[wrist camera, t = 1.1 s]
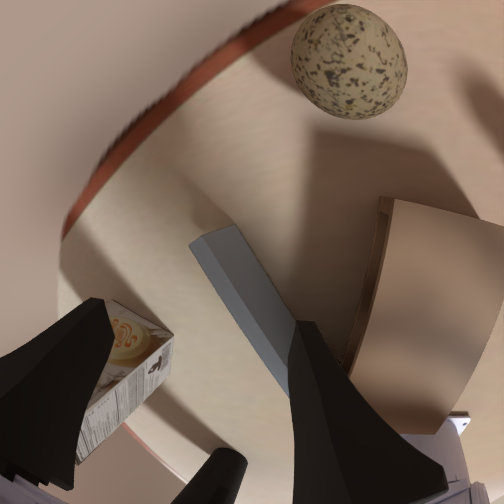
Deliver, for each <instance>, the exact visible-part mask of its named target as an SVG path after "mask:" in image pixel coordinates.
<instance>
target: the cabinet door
mask: <svg viewBox="0 0 504 504" xmlns="http://www.w3.org/2000/svg"><path fill="white" fill-rule="evenodd" d="M188 246H189V248H190V249H191V251H192V253H193V254H194V256H195V258H196V259H197V261H198V263H199V264H200V266H201V267H202V269H203V271H204V272H205V274H206V275H207V277H208V279H209V280H210V282H211V283H212V285H213V287H214V288H215V290H216V291H217V293H218V295H219V296H220V298H221V299H222V301H223V302H224V304H225V305H226V307H227V309H228V310H229V312H230V313H231V315H232V316H233V318H234V319H235V321H236V322H237V324H238V325H239V327H240V328H241V330H242V331H243V333H244V334H245V336H246V337H247V339H248V340H249V342H250V343H251V345H252V346H253V348H254V349H255V351H256V352H257V353H258V355H259V356H260V358H261V359H262V361H263V362H264V364H265V365H266V366H267V368H268V369H269V371H270V372H271V374H272V375H273V376H274V378H275V379H276V381H277V382H278V383H279V385H280V386H281V388H282V389H283V390H284V392H285V393H286V395H287V396H288V397H289V389H288V354H289V350H290V346H291V342H292V338H293V334H294V330H295V326H296V321H295V320H294V318H293V316H292V315H291V313H290V312H289V310H288V308H287V307H286V305H285V304H284V302H283V300H282V299H281V297H280V295H279V294H278V292H277V291H276V289H275V287H274V286H273V284H272V283H271V281H270V279H269V278H268V276H267V275H266V273H265V271H264V270H263V268H262V267H261V265H260V263H259V262H258V260H257V258H256V257H255V255H254V254H253V252H252V250H251V249H250V247H249V246H248V244H247V242H246V241H245V239H244V238H243V236H242V234H241V233H240V231H239V230H238V228H237V226H236V225H231V226H228V227H225V228H222V229H219V230H216V231H213V232H210V233H208V234H205V235H202V236H200V237H199V238H198V239H196V240H195V241H193V242H192V243H191V244H189V245H188ZM289 399H290V398H289Z"/></svg>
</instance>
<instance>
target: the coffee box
mask: <svg viewBox="0 0 504 504" xmlns="http://www.w3.org/2000/svg"><path fill="white" fill-rule="evenodd" d="M105 306H106V309H107V313H108V316H109V319H110V322H111V325H112V328H113V331H114V334H115V340H114V343H113V346H112V350H111V353H110V355H109V358H108V361H107V363H106V365H105V367H104V370H103V372H102V374H101V376H100V378H99V380H98V383H97V385H96V387H95V389H94V391H93V394H92V396H91V398H90V401H89V403H88V406H87V408H86V411H85V415H84V419H83V422H82V426H81V430H80V435H79V440H78V445H77V451H76V458H75V464H76V465H78V466H79V465H80V464H81V463H82V462H83V461H84V460H85V459H86V458H87V457H88V456H89V455H90V454H91V453H92V452H93V451H94V450H95V449H96V448H97V447H98V446H99V445H100V444H101V443H102V442H103V441H104V440H105V439H106V438H107V437H108V436H109V435H110V434H111V433H113V431H114V430H115V429H116V428H117V427H118V426H119V425H121V424H122V423H123V422H124V421H125V420H126V419H127V418H128V417H129V416H130V415H131V414H132V413H133V412H134V411H135V410H136V409H137V408H138V407H139V405H140V404H142V402H143V401H144V400H145V399H146V398H147V397H148V396H149V395H150V394H151V393H152V392H153V391H154V390H155V389H156V388H157V387H158V386H159V385H160V384H161V383H162V382H163V381H164V380H165V379H166V378H167V377H168V376H169V373H170V364H171V356H172V348H173V340H174V335H173V334H171V333H170V332H168V331H166V330H164V329H162V328H160V327H158V326H156V325H155V324H153V323H151V322H149V321H147V320H146V319H144V318H142V317H140V316H138V315H137V314H135V313H133V312H131V311H130V310H128V309H126V308H125V307H123V306H121V305H119V304H118V303H116V302H114V301H113V300H110V301H108V302H106V303H105Z"/></svg>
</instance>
